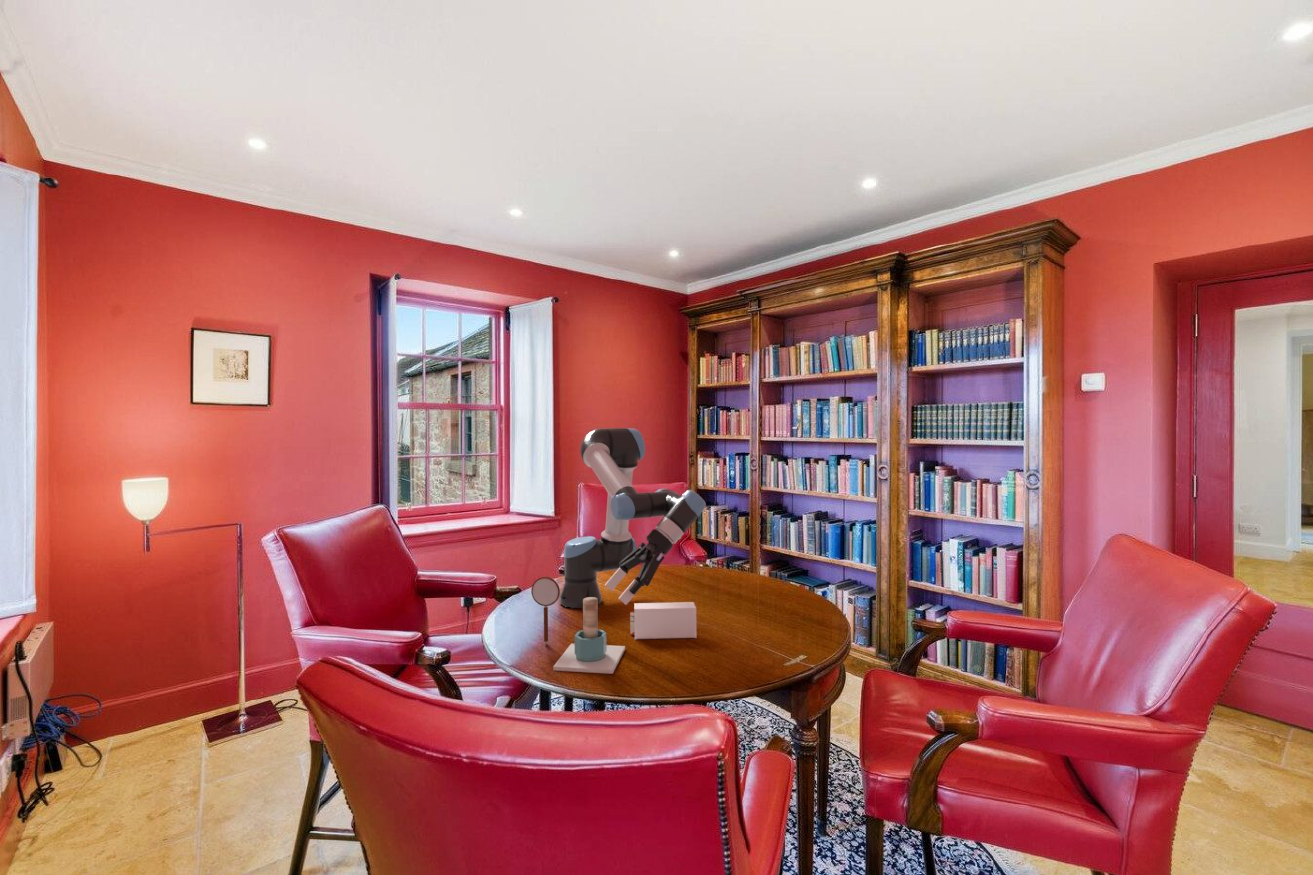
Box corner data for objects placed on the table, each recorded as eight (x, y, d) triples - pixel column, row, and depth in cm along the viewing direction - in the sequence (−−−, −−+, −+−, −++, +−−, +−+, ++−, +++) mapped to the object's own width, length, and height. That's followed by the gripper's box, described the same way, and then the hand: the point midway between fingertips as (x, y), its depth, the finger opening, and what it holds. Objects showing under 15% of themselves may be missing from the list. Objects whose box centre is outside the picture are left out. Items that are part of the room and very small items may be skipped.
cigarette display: (694, 631, 173) (694, 601, 173) (696, 638, 167) (696, 607, 167) (630, 633, 172) (630, 603, 172) (630, 640, 167) (629, 609, 167)
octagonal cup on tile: (571, 646, 162) (571, 622, 161) (625, 649, 159) (624, 625, 159) (553, 670, 146) (552, 643, 146) (612, 673, 143) (612, 646, 143)
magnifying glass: (531, 644, 163) (530, 577, 163) (533, 642, 165) (532, 575, 165) (559, 646, 162) (558, 578, 162) (561, 643, 164) (560, 576, 164)
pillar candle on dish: (584, 648, 155) (583, 596, 155) (602, 648, 155) (601, 596, 155) (578, 655, 150) (578, 601, 150) (597, 656, 150) (597, 602, 149)
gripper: (690, 553, 149) (638, 616, 144) (657, 537, 172) (611, 590, 167) (672, 535, 147) (618, 599, 142) (641, 521, 170) (594, 575, 165)
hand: (614, 594), depth 154 cm, fingers open, 13 cm apart
